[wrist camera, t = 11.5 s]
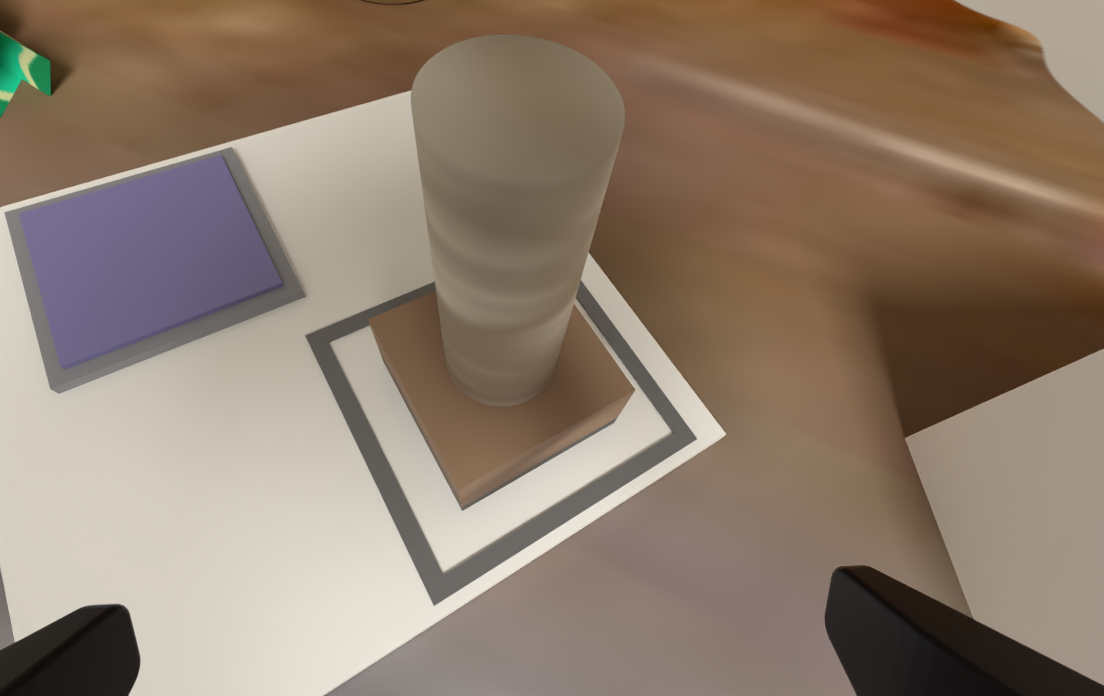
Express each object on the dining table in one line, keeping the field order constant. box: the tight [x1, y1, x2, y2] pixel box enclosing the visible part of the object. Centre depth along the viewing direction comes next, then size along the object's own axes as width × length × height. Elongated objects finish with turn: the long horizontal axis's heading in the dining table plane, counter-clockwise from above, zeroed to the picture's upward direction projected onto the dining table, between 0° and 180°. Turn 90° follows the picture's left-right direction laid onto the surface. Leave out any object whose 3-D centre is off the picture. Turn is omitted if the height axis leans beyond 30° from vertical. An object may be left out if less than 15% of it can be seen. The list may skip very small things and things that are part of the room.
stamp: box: [368, 34, 635, 511], centre depth 14 cm, size 6×6×12 cm
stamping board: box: [0, 91, 726, 696], centre depth 19 cm, size 21×21×1 cm
